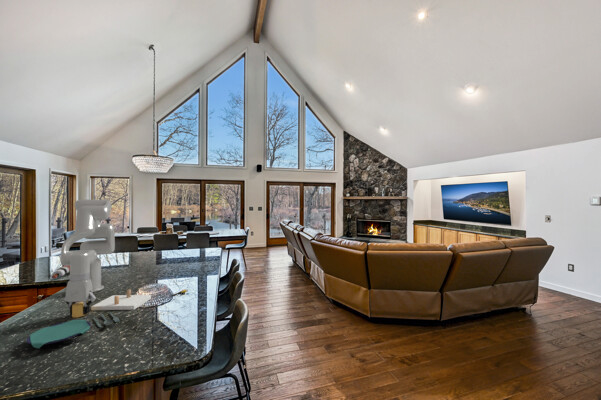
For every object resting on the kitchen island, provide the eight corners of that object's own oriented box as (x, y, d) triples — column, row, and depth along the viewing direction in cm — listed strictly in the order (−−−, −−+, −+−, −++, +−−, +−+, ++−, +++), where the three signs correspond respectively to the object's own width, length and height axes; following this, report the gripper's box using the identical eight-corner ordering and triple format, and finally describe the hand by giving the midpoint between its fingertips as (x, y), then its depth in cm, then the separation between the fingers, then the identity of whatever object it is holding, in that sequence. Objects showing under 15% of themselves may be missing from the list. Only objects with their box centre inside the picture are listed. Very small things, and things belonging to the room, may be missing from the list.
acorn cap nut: (68, 317, 124) (69, 306, 124) (78, 312, 129) (78, 301, 129) (80, 317, 124) (80, 305, 124) (90, 312, 129) (90, 301, 129)
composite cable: (171, 297, 151) (171, 293, 151) (169, 295, 155) (169, 291, 155) (188, 293, 158) (188, 289, 158) (186, 291, 161) (186, 287, 161)
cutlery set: (24, 337, 107) (24, 331, 107) (111, 313, 130) (111, 308, 130) (27, 355, 94) (27, 349, 94) (123, 325, 117) (123, 320, 117)
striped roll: (55, 267, 183) (65, 277, 186) (77, 256, 215) (85, 265, 217) (41, 276, 180) (51, 286, 183) (64, 263, 212) (73, 272, 214)
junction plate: (91, 310, 132) (91, 298, 132) (112, 298, 148) (112, 288, 148) (134, 309, 133) (134, 298, 133) (151, 298, 149) (151, 287, 149)
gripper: (55, 280, 123) (55, 317, 122) (91, 279, 123) (91, 316, 123) (68, 275, 130) (68, 310, 130) (103, 275, 131) (102, 310, 131)
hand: (79, 313), depth 127 cm, fingers closed on acorn cap nut, 5 cm apart
